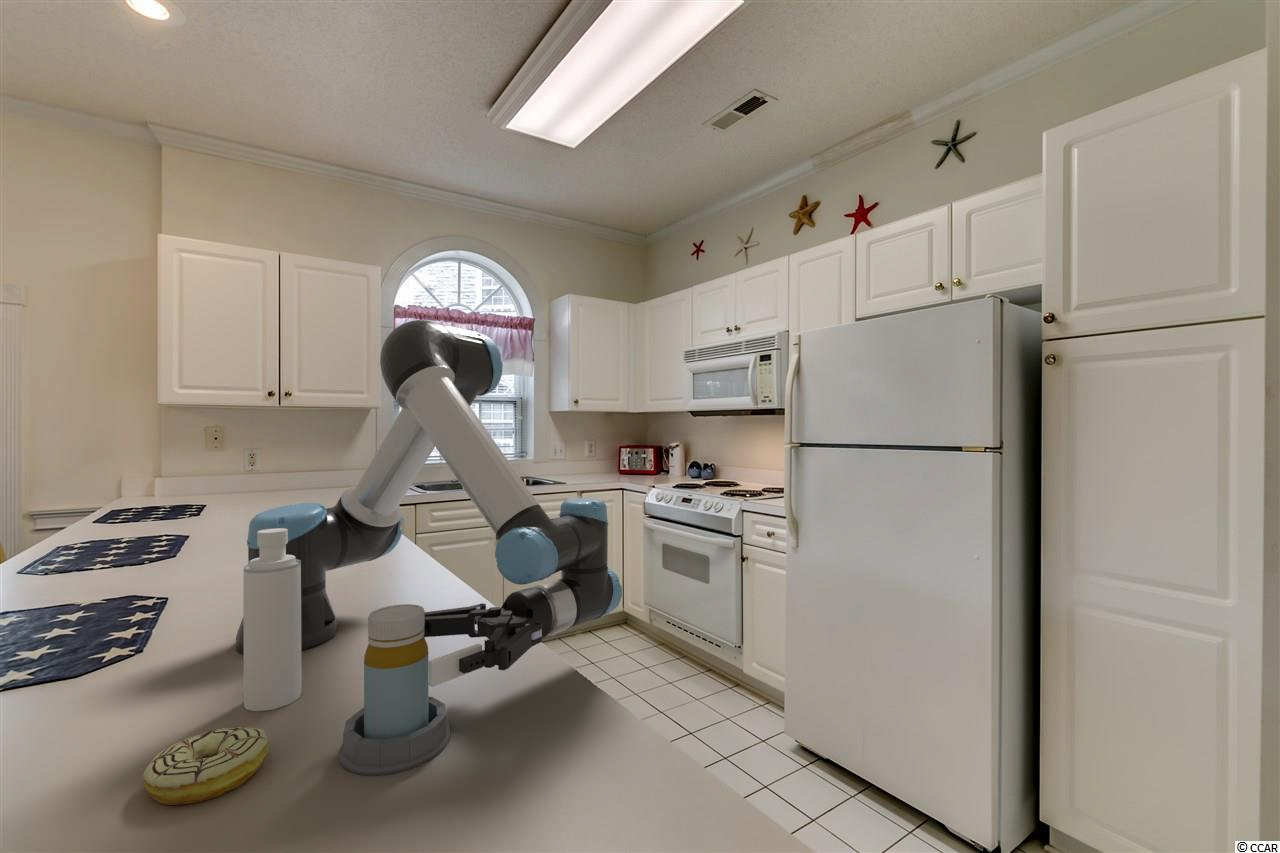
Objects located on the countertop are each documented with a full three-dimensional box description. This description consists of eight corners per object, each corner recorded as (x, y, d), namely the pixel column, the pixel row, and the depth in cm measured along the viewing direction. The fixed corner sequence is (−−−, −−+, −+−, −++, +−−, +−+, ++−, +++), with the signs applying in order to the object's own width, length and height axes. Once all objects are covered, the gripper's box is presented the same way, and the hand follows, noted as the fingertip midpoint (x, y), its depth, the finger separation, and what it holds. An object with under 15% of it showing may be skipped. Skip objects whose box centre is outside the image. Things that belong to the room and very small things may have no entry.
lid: (321, 748, 66) (321, 722, 66) (417, 708, 76) (416, 685, 76) (370, 789, 59) (370, 759, 59) (470, 739, 68) (470, 713, 68)
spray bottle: (239, 716, 74) (239, 524, 74) (247, 694, 80) (247, 517, 80) (299, 704, 77) (298, 520, 77) (303, 684, 83) (302, 513, 83)
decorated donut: (222, 744, 68) (222, 713, 68) (290, 761, 64) (290, 728, 64) (118, 799, 58) (118, 762, 58) (191, 822, 54) (191, 783, 54)
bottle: (405, 758, 63) (405, 624, 63) (350, 751, 64) (350, 620, 65) (439, 726, 70) (439, 605, 70) (389, 720, 71) (389, 601, 71)
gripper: (599, 659, 76) (459, 724, 59) (487, 619, 91) (352, 662, 75) (599, 603, 76) (459, 653, 59) (487, 573, 91) (352, 605, 75)
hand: (399, 658), depth 67 cm, fingers open, 13 cm apart
